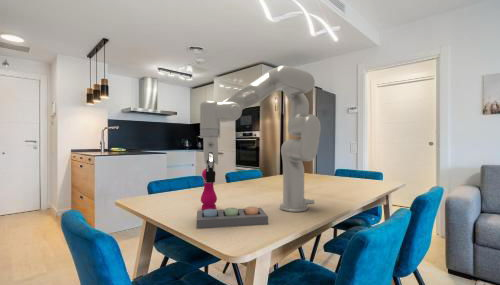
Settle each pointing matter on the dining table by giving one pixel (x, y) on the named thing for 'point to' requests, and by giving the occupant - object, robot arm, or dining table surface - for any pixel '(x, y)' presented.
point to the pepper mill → (208, 194)
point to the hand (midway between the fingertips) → (210, 180)
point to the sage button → (231, 212)
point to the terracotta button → (251, 210)
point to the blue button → (210, 213)
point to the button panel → (231, 219)
